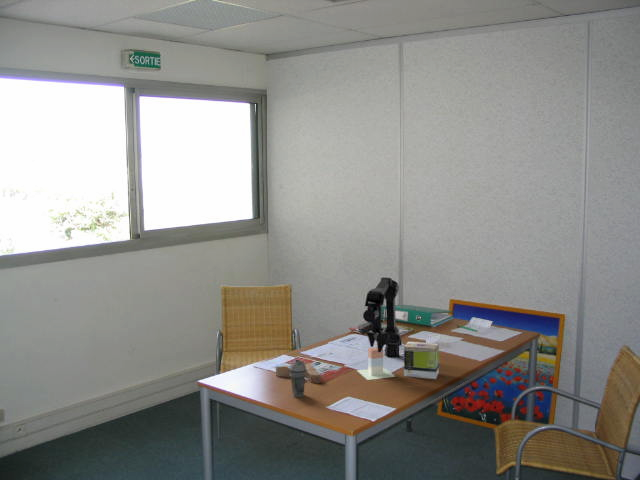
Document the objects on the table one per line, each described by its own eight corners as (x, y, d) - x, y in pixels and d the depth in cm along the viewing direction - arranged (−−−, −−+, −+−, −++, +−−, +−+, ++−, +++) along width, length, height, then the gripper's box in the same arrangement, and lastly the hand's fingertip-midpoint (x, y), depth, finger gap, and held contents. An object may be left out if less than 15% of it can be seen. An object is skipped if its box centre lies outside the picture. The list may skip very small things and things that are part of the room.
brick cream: (379, 371, 300) (379, 363, 299) (383, 374, 296) (383, 365, 296) (368, 372, 298) (368, 364, 298) (371, 375, 294) (371, 367, 294)
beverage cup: (289, 392, 275) (288, 348, 272) (306, 391, 275) (305, 347, 273) (290, 398, 267) (289, 353, 265) (307, 398, 268) (306, 352, 266)
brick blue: (379, 363, 299) (379, 355, 299) (383, 365, 296) (383, 357, 295) (368, 364, 298) (368, 356, 297) (371, 367, 294) (371, 358, 293)
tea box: (439, 373, 298) (439, 342, 296) (435, 380, 288) (436, 348, 287) (407, 370, 303) (407, 340, 301) (403, 376, 293) (403, 346, 292)
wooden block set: (309, 360, 303) (321, 372, 286) (309, 371, 303) (321, 384, 287) (275, 364, 297) (286, 376, 280) (275, 375, 298) (286, 388, 281)
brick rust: (379, 355, 299) (379, 347, 298) (383, 357, 295) (383, 349, 295) (368, 356, 297) (368, 348, 297) (371, 358, 293) (371, 350, 293)
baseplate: (383, 368, 306) (383, 367, 306) (395, 377, 293) (395, 376, 293) (356, 371, 302) (356, 370, 302) (367, 380, 288) (367, 379, 288)
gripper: (352, 314, 300) (352, 345, 302) (367, 323, 282) (367, 356, 284) (374, 312, 303) (374, 343, 305) (389, 321, 286) (389, 354, 288)
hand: (375, 349), depth 296 cm, fingers open, 9 cm apart
